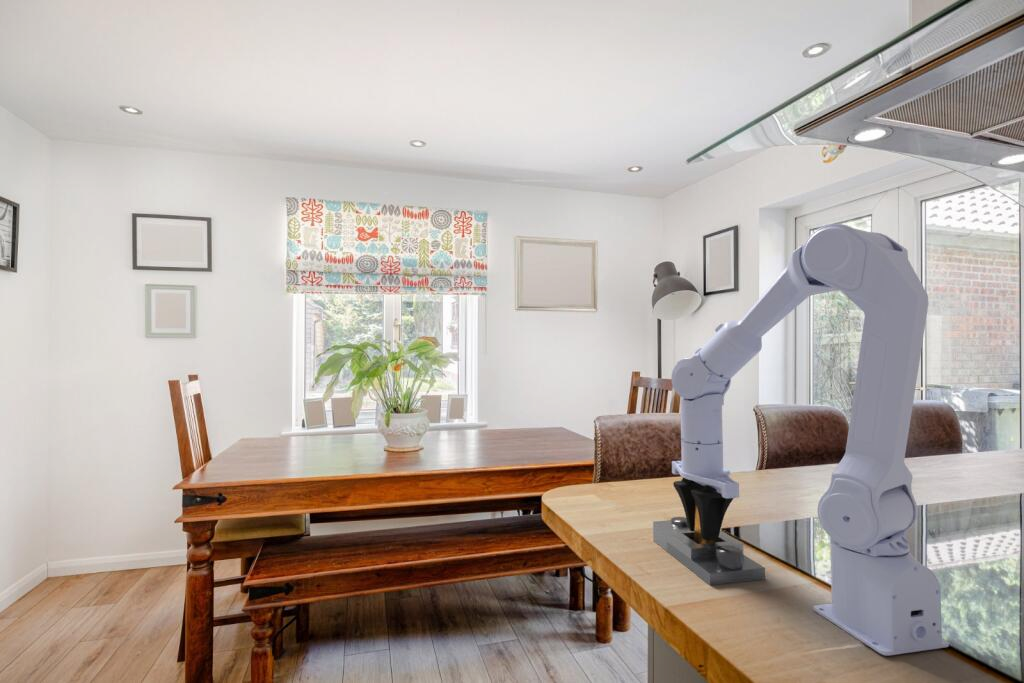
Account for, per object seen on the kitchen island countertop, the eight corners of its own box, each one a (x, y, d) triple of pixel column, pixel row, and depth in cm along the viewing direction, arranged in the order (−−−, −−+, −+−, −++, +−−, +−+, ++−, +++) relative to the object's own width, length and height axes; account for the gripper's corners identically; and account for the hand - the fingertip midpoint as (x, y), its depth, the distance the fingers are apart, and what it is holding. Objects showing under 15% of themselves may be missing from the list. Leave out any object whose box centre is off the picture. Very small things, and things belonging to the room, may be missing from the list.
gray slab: (765, 579, 68) (764, 552, 68) (709, 585, 66) (709, 557, 66) (699, 536, 83) (698, 514, 84) (653, 540, 82) (652, 518, 82)
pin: (720, 551, 74) (721, 502, 74) (701, 552, 73) (702, 503, 73) (708, 544, 77) (709, 496, 77) (690, 544, 76) (691, 497, 76)
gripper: (758, 448, 69) (760, 551, 68) (699, 432, 83) (701, 516, 83) (710, 451, 67) (712, 555, 67) (659, 434, 82) (660, 520, 81)
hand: (703, 534), depth 75 cm, fingers closed on pin, 3 cm apart
